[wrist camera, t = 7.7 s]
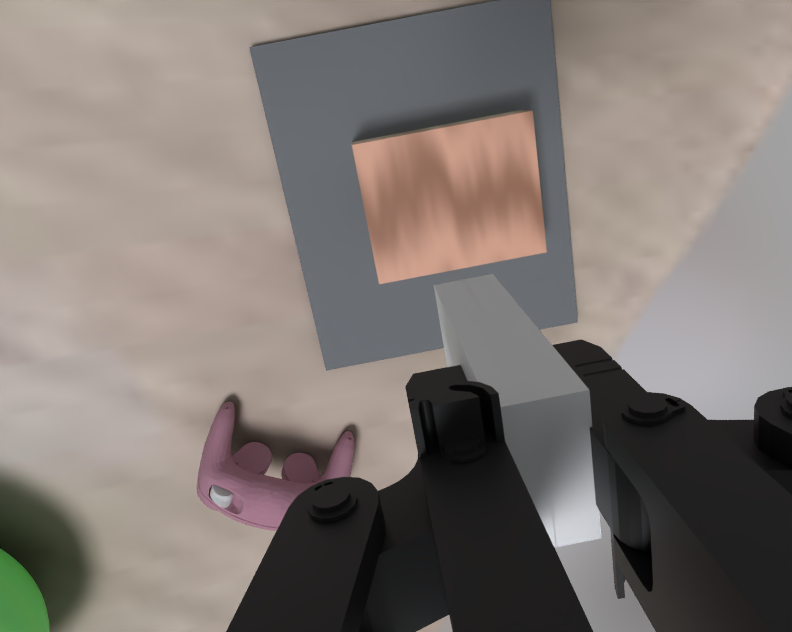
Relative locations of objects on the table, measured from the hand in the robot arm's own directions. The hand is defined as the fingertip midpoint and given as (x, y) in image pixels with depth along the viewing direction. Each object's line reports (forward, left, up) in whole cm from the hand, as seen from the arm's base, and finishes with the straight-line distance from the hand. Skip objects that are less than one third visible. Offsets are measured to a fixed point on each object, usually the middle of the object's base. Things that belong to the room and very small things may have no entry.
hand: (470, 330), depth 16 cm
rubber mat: (0, +2, -24) cm, 24 cm away
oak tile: (0, -2, -22) cm, 22 cm away
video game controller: (+16, -11, -24) cm, 31 cm away
